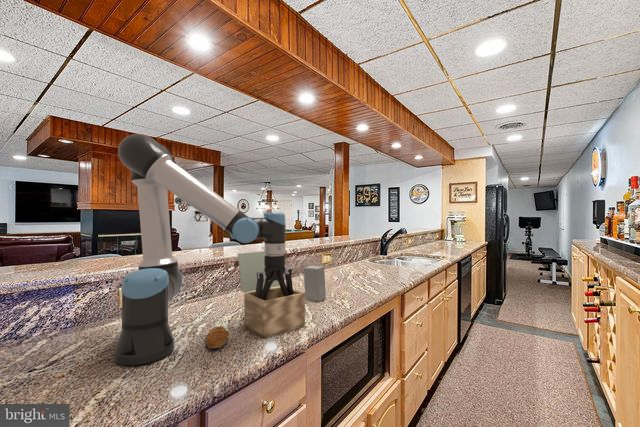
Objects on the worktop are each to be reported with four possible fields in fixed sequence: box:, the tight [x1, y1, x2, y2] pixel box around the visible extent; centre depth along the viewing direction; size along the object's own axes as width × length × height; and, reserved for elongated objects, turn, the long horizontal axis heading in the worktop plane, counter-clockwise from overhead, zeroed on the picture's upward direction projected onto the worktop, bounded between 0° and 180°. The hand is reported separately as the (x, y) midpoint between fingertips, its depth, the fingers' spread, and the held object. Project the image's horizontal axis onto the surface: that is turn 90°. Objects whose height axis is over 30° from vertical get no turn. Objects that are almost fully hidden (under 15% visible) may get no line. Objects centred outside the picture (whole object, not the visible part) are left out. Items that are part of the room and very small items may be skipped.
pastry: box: [205, 326, 229, 349], centre depth 92 cm, size 9×7×4 cm
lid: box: [237, 250, 280, 293], centre depth 115 cm, size 18×14×2 cm
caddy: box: [243, 286, 306, 340], centre depth 108 cm, size 17×14×12 cm
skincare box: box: [303, 265, 327, 302], centre depth 142 cm, size 8×7×16 cm
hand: (274, 317), depth 108 cm, fingers closed on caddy, 8 cm apart
